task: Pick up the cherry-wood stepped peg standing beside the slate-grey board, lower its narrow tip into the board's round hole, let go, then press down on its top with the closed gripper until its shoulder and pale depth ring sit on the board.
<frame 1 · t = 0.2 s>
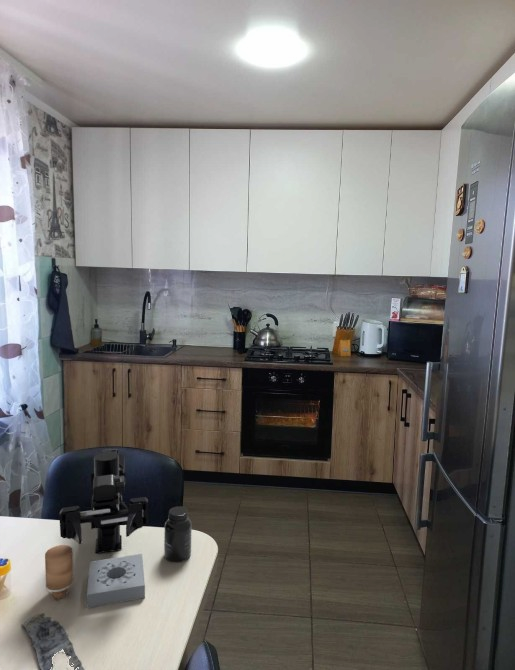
hand: (103, 538, 93), 17 cm above the table, tool horizontal, fingers open, 9 cm apart
peg: (59, 594, 100), on the table
supplement bottle: (177, 555, 115), on the table
board: (116, 585, 103), on the table
driftwood: (50, 652, 85), on the table
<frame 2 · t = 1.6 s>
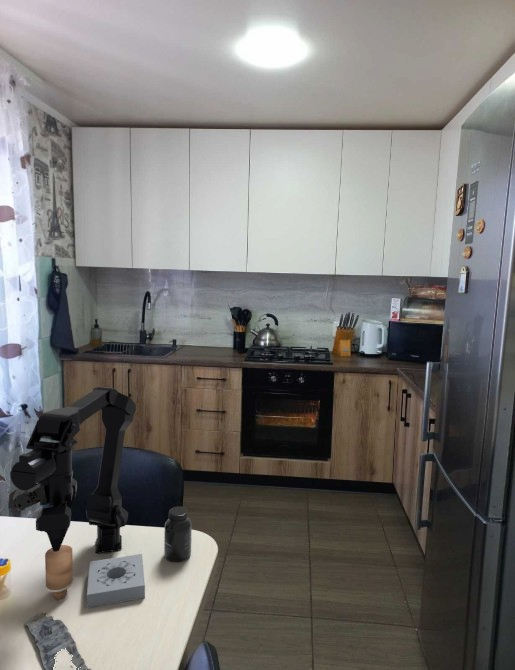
hand: (58, 539, 98), 13 cm above the table, tool pointing down, fingers open, 9 cm apart
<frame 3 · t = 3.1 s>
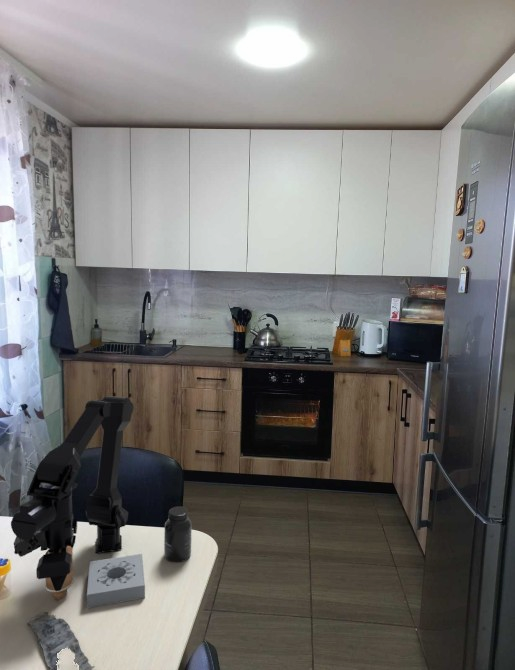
hand: (59, 581, 99), 3 cm above the table, tool pointing down, fingers closed on peg, 5 cm apart
peg: (59, 594, 100), on the table, touching gripper
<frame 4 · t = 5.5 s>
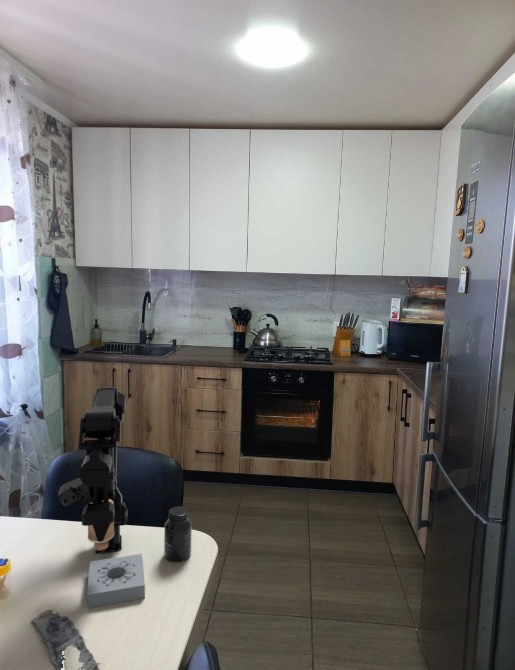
hand: (101, 533, 101), 13 cm above the table, tool pointing down, fingers closed on peg, 5 cm apart
peg: (101, 546, 101), point 10 cm above the table, touching gripper
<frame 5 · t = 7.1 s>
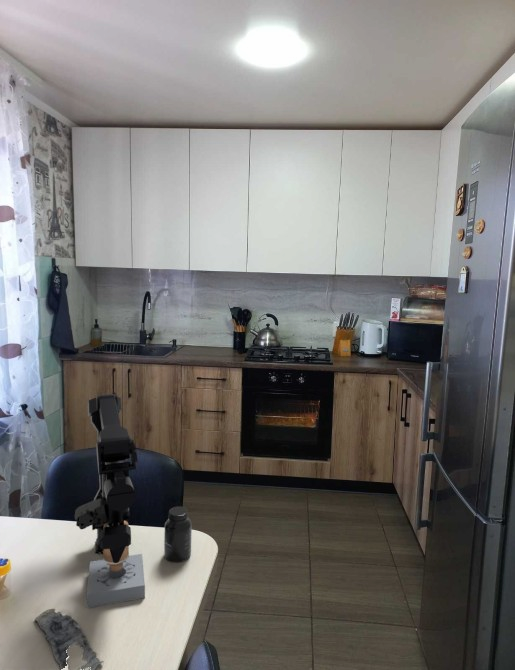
hand: (116, 555, 103), 7 cm above the table, tool pointing down, fingers closed on peg, 5 cm apart
peg: (116, 567, 103), point 4 cm above the table, touching gripper
when the fingers open (4 cm above the table, at t = 8.2 s): peg drops 1 cm, resting on board.
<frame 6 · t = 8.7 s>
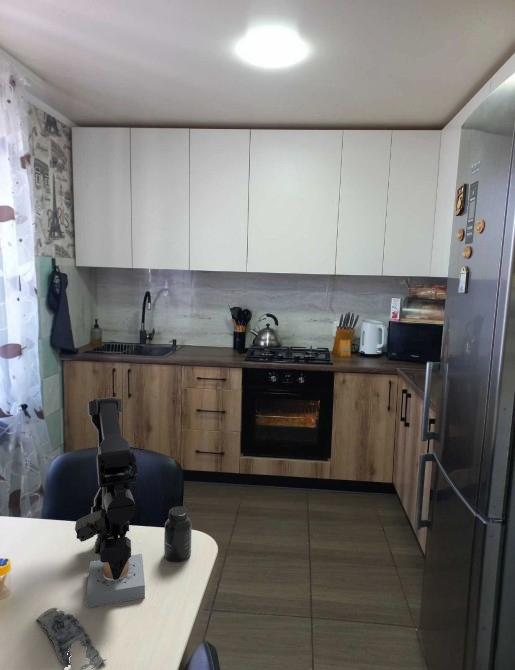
hand: (116, 566, 103), 5 cm above the table, tool pointing down, fingers open, 9 cm apart
peg: (116, 583, 103), resting on board
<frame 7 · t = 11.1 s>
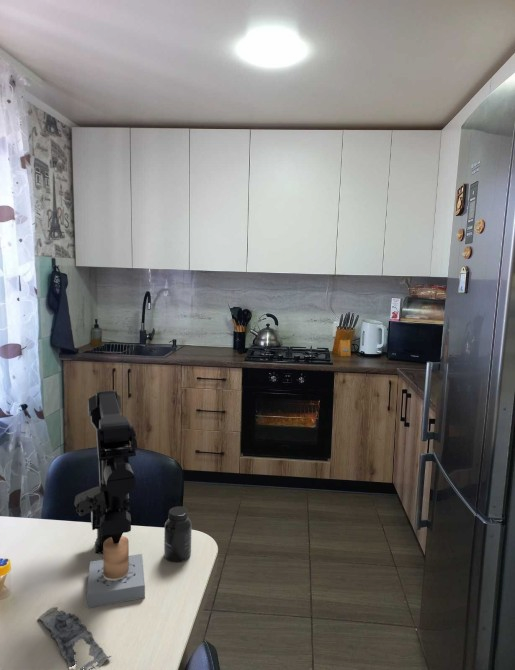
hand: (116, 542, 102), 10 cm above the table, tool pointing down, fingers closed, pressing on peg
peg: (116, 583, 103), resting on board, touching gripper
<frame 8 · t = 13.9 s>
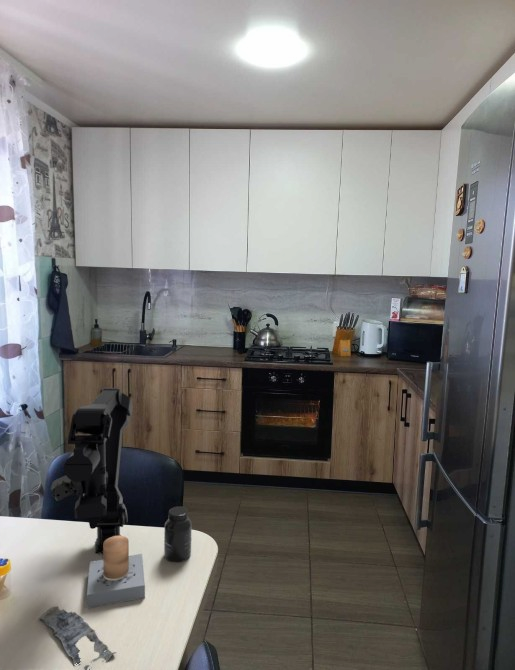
hand: (93, 527, 103), 13 cm above the table, tool pointing down, fingers closed
peg: (116, 583, 103), resting on board
at the end: peg resting in board; peg 0.0 cm off-centre on the board, point 0.4 cm above the board's base; peg tilted 0° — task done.
